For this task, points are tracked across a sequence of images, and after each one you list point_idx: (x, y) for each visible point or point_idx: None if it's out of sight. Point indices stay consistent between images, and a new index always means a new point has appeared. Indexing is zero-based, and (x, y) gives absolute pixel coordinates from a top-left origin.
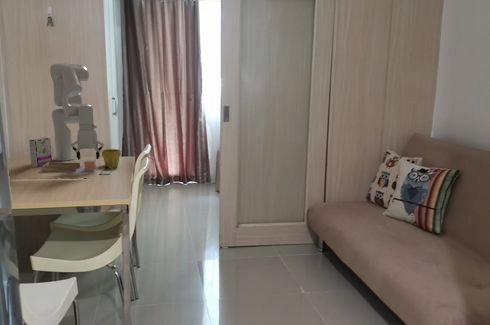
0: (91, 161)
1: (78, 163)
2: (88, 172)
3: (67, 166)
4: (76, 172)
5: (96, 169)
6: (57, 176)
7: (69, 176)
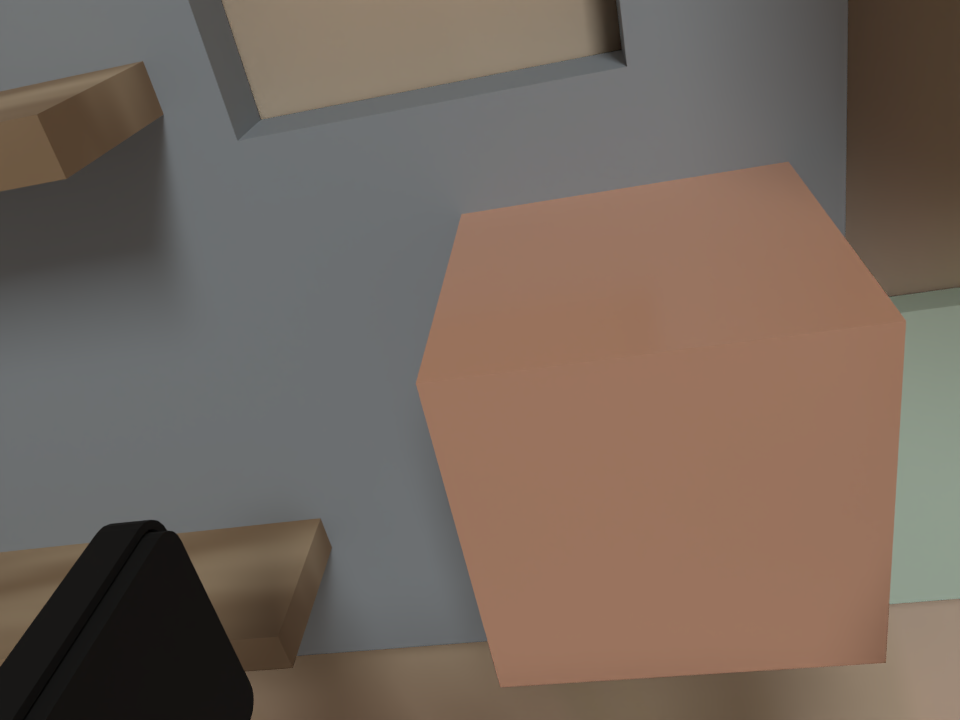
0: (780, 653)
1: (41, 175)
2: None
3: None
4: (407, 637)
5: None
6: None
7: (352, 710)
